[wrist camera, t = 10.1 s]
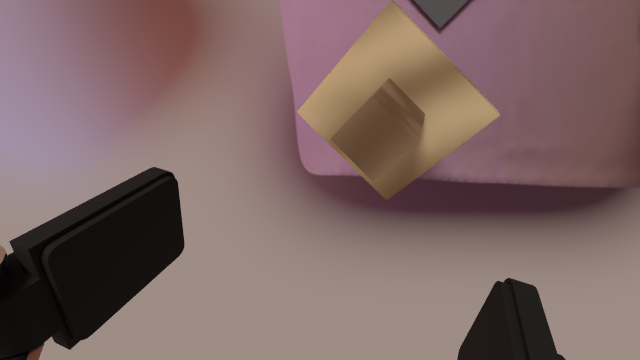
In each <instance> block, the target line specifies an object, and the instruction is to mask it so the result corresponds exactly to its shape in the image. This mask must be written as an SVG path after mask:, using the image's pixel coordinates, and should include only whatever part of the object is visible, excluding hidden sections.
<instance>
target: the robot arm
mask: <svg viewBox="0 0 640 360" xmlns="http://www.w3.org/2000/svg"><path fill="white" fill-rule="evenodd" d="M10 244H11V246H12V248H13V251H14V252H13V253H11V254H9V255H8V256H7V254H6V252H5V249H4V248H3V247H2V246H0V360H39V357H40V354H41V351H42V348H43V346H44V342H45V341H46V340H48V339H49V338H50V337H51V336H52V338H53V340H54V342H56V343H57V344H59V345H61V346H63V347H65V348H67V349H69V350H70V349H71V348H72V347H74V346H75V345H76V344H77V343H78V342H79V341H80V340H84V339H86V338H88V337H89V336H91V335H92V334H93V333H94V332H95V331H96V330H97V329H99V328H100V327H101V326H102V325H103V324H104V323H105V322H106V321H107V320H109V319H110V318H111V317H112V316H113V315H114V314H115V313H116V312H117V311H119V310H120V309H121V308H122V307H123V306H124V305H125V304H126V303H127V302H129V301H130V300H131V299H132V298H133V297H134V296H135V295H136V294H137V293H139V292H140V291H141V290H142V289H143V288H144V287H145V286H146V285H147V284H148V283H150V282H151V281H152V280H153V279H154V278H155V277H156V276H157V275H159V274H160V273H161V272H162V271H163V270H164V269H165V268H166V267H167V266H168V265H170V264H171V263H172V262H173V261H174V260H175V259H176V258H177V257H179V255H180V254H181V253H182V251H183V249H184V236H183V227H182V217H181V209H180V199H179V189H178V182H177V180H176V179H175V177H174V175H173V173H171V172H169V171H166V170H162V169H159V168H156V167H153V168H150V169H148V170H146V171H144V172H142V173H140V174H138V175H136V176H134V177H133V178H130V179H128V180H127V181H125V182H123V183H121V184H119V185H117V186H115V187H113V188H111V189H109V190H107V191H106V192H104V193H102V194H100V195H98V196H96V197H94V198H92V199H90V200H88V201H86V202H84V203H82V204H80V205H79V206H77V207H75V208H73V209H71V210H69V211H67V212H65V213H63V214H61V215H60V216H58V217H56V218H54V219H52V220H50V221H48V222H46V223H44V224H42V225H40V226H38V227H36V228H34V229H32V230H31V231H29V232H27V233H25V234H23V235H21V236H19V237H17V238H15V239H13V240H11V241H10ZM458 360H565V358H564V357H563V356H562V355H559V354H557V351H556V348H555V345H554V342H553V338H552V335H551V332H550V329H549V326H548V322H547V319H546V316H545V313H544V310H543V307H542V303H541V300H540V297H539V294H538V291H537V289H536V287H535V286H533V285H530V284H527V283H523V282H520V281H517V280H514V279H510V278H508V279H506V280H505V281H504V282H500V281H497V282H496V283H495V284H494V286H493V288H492V290H491V292H490V294H489V296H488V297H487V299H486V301H485V303H484V305H483V306H482V308H481V310H480V312H479V314H478V316H477V318H476V319H475V321H474V323H473V325H472V327H471V329H470V330H469V332H468V334H467V336H466V338H465V340H464V342H463V343H462V345H461V347H460V350H459V353H458Z"/></svg>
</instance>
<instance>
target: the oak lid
mask: <svg viewBox="0 0 640 360" xmlns="http://www.w3.org/2000/svg"><path fill="white" fill-rule="evenodd" d="M297 113H298V114H299V115H300V116H301V117H302V118H303V119H304V120H305V121H306V122H307V123H308V124H309V125H310V126H311V127H313V128H314V129H315V130H316V131H317V132H318V133H319V134H320V135H321V136H322V137H323V138H324V139H325V140H326V141H327V142H328V143H329V144H330V145H331V146H332V147H333V148H334V149H335V150H336V151H337V152H338V153H339V154H340V155H341V156H342V157H343V158H344V159H345V160H346V161H347V162H348V163H349V164H350V165H351V166H352V167H353V168H354V169H355V170H356V171H357V172H358V173H359V174H360V175H361V176H362V177H363V178H364V179H365V180H366V181H367V182H368V183H369V184H370V185H371V186H372V187H373V188H374V189H375V190H376V191H377V192H378V193H379V194H380V195H381V196H382V197H384V198H385V199H386V200H388V199H389V198H391V197H392V196H393V195H395V194H396V193H398V192H399V191H400V190H402V189H403V188H404V187H406V186H407V185H408V184H409V183H411V182H412V181H413V180H415V179H416V178H418V177H419V176H420V175H422V174H423V173H424V172H426V171H427V170H428V169H430V168H431V167H432V166H434V165H435V164H436V163H438V162H439V161H440V160H442V159H443V158H444V157H446V156H447V155H448V154H450V153H451V152H452V151H454V150H455V149H456V148H458V147H459V146H460V145H462V144H463V143H464V142H466V141H467V140H468V139H470V138H471V137H472V136H474V135H475V134H476V133H478V132H479V131H480V130H482V129H483V128H484V127H486V126H487V125H488V124H490V123H491V122H492V121H494V120H495V119H496V118H498V117H499V116H500V114H499V112H498V110H497V109H496V108H495V107H494V106H493V105H492V104H491V103H490V102H489V101H488V100H487V99H486V98H485V97H484V96H483V95H482V94H481V92H480V91H479V90H478V89H477V88H476V87H475V86H474V85H473V84H472V83H471V82H470V81H469V80H468V79H467V78H466V77H465V76H464V75H463V73H462V72H461V71H460V70H459V69H458V68H457V67H456V66H455V65H454V64H453V63H452V62H451V61H450V60H449V59H448V58H447V57H446V56H445V54H444V53H443V52H442V51H441V50H440V49H439V48H438V47H437V46H436V45H435V44H434V43H433V42H432V41H431V40H430V39H429V38H428V36H427V35H426V34H425V33H424V32H423V31H422V30H421V29H420V28H419V27H418V26H417V25H416V24H415V23H414V22H413V21H412V20H411V19H410V17H409V16H408V15H407V14H406V13H405V12H404V11H403V10H402V9H401V8H400V7H399V6H398V5H397V4H396V3H395V2H394V1H392V0H391V1H390V2H389V3H388V5H387V6H386V7H385V8H384V9H383V11H382V12H381V13H380V14H379V15H378V16H377V18H376V19H375V20H374V21H373V22H372V24H371V25H370V26H369V27H368V28H367V30H366V31H365V32H364V33H363V34H362V35H361V37H360V38H359V39H358V40H357V41H356V43H355V44H354V45H353V46H352V47H351V48H350V50H349V51H348V52H347V53H346V54H345V56H344V57H343V58H342V59H341V60H340V61H339V63H338V64H337V65H336V66H335V67H334V69H333V70H332V71H331V72H330V73H329V75H328V76H327V77H326V78H325V79H324V80H323V82H322V83H321V84H320V85H319V86H318V88H317V89H316V90H315V91H314V92H313V93H312V95H311V96H310V97H309V98H308V99H307V101H306V102H305V103H304V104H303V105H302V106H301V108H300V109H299V110H298V111H297Z"/></svg>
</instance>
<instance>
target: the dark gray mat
mask: <svg viewBox="0 0 640 360" xmlns="http://www.w3.org/2000/svg"><path fill="white" fill-rule="evenodd" d="M414 1H415V2H416V3H417V4H418V5H419V6H420V7H421V8H422V10H423V11H424V12H425V13H426V14H427V15H428V16H429V17H430V18H431V19H432V20H433V22H434V23H435V24H436V25H437V26H438V27H439V28H441V27H442V26H443V25H444V24H445V23H446V22H447V21H448V20H449V19H450V18H451V17H452V16H453V15H454V14H455V13H456V12H457V11H458V10H459V9H460V8H461V7H462V6H463V5H464V4H465V3H466V2H467V1H468V0H414Z"/></svg>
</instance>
